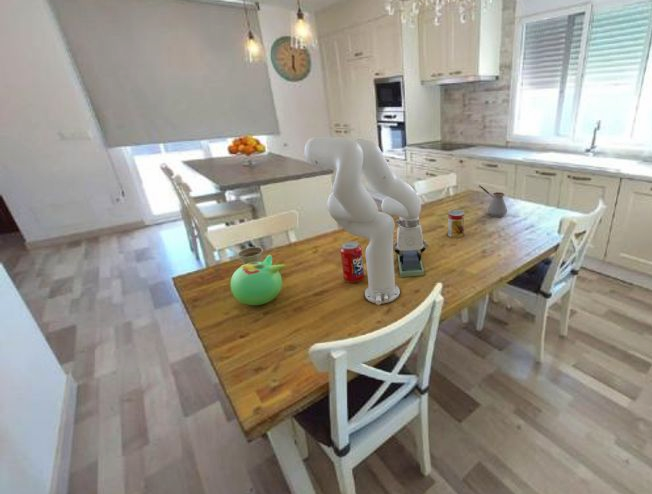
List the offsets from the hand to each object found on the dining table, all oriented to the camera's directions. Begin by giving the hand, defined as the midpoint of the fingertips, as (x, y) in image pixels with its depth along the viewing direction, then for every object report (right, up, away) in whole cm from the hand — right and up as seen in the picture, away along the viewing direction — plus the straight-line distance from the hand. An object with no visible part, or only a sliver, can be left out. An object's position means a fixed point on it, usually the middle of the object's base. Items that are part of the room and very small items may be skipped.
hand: (410, 262), depth 132 cm
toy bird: (-53, -12, -17) cm, 57 cm away
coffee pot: (+47, +25, +61) cm, 81 cm away
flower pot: (-65, -4, +2) cm, 65 cm away
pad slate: (0, -1, 0) cm, 1 cm away
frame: (0, -1, +6) cm, 6 cm away
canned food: (+22, +11, +32) cm, 41 cm away
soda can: (-22, -6, -5) cm, 24 cm away
